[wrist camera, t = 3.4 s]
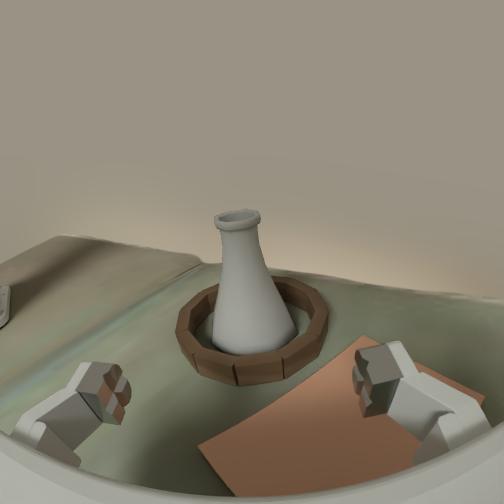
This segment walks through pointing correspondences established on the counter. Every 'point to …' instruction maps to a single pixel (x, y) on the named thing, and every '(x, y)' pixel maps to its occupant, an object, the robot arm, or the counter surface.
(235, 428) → the terracotta pad
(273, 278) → the ring holder
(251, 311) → the flask
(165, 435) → the counter surface
